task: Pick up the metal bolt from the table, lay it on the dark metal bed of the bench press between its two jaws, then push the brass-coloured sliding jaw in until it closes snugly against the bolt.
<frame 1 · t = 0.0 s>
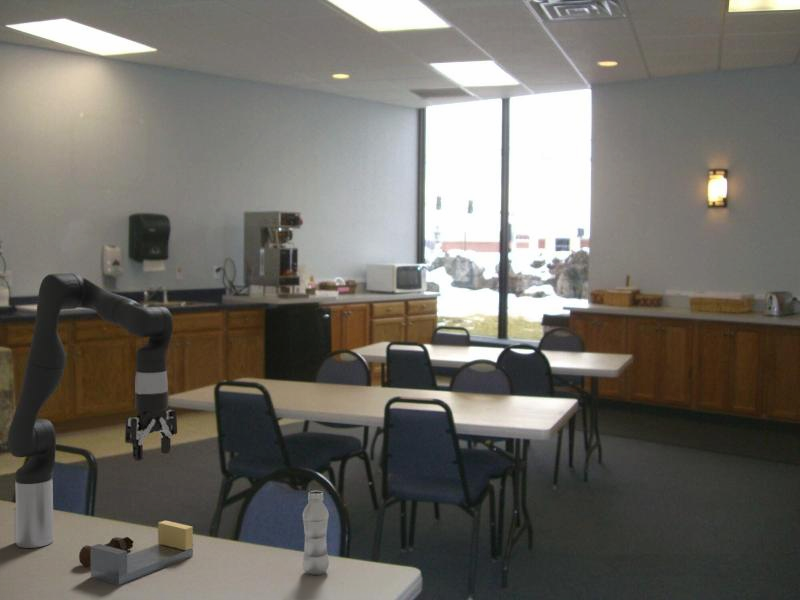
hand: (152, 456, 211), 29 cm above the table, tool pointing down, fingers open, 8 cm apart
bolt: (109, 559, 225), on the table
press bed: (143, 566, 219), on the table
plastic bottle: (315, 573, 215), on the table
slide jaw: (175, 535, 228), point 5 cm above the table, slide at 0.0 cm
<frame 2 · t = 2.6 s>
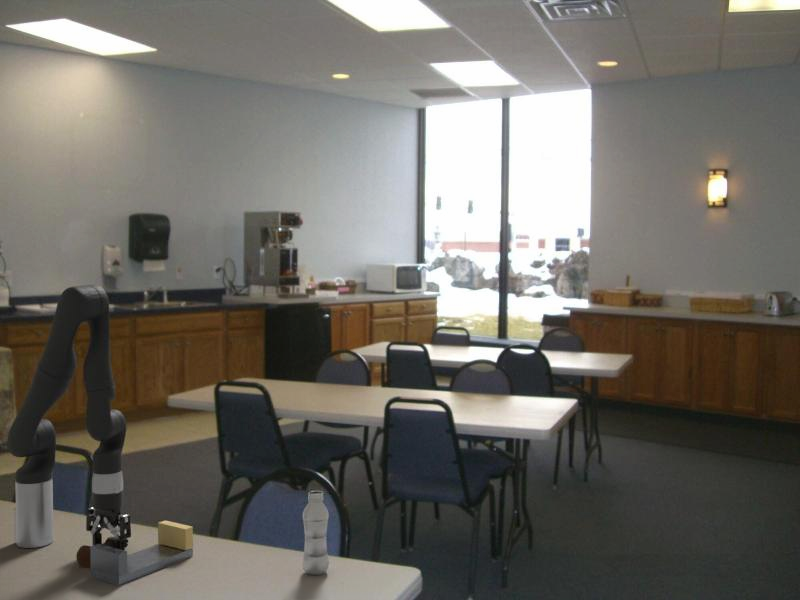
hand: (108, 551, 224), 2 cm above the table, tool pointing down, fingers open, 8 cm apart
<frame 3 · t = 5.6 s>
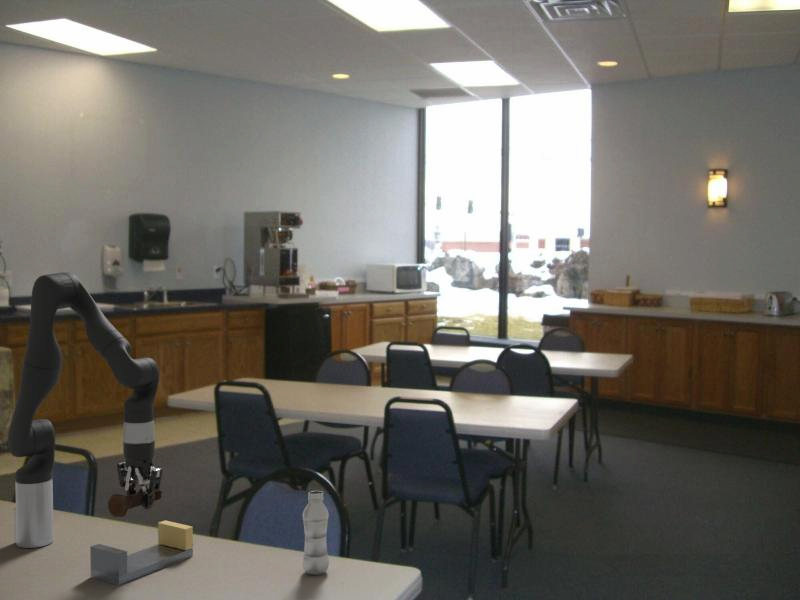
hand: (139, 506, 217), 15 cm above the table, tool pointing down, fingers closed on bolt, 5 cm apart
bolt: (138, 509, 217), point 15 cm above the table, touching gripper
everything else where it was.
when the fingers open (3 cm above the table, at t = 8.3 s): bolt stays where it is, resting on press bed.
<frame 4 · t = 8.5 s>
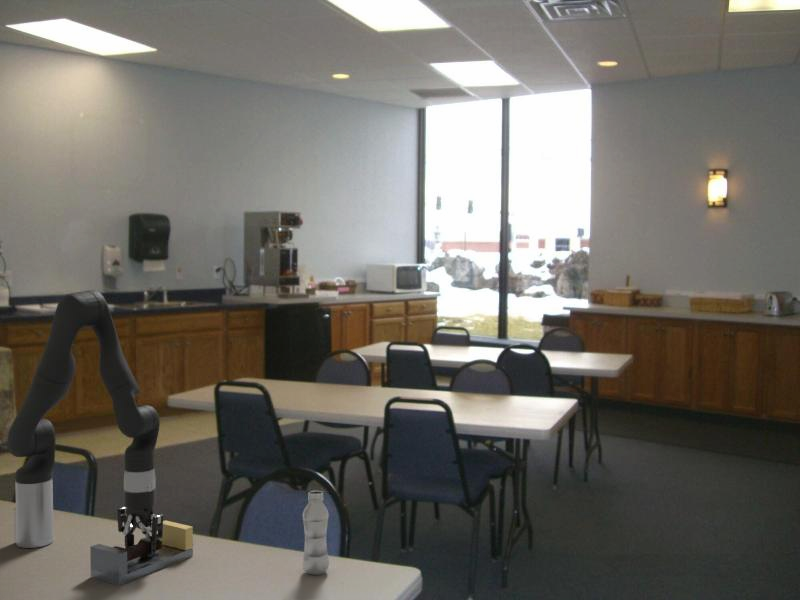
hand: (140, 552, 218), 4 cm above the table, tool pointing down, fingers open, 7 cm apart
bolt: (137, 560, 217), point 2 cm above the table, touching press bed
everything else where it was.
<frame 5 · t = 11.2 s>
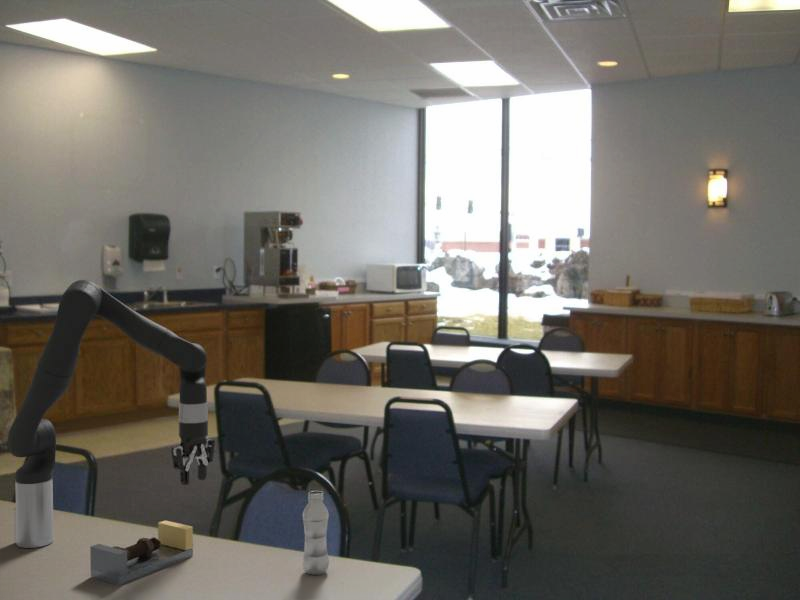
hand: (193, 481, 233), 18 cm above the table, tool pointing down, fingers open, 5 cm apart
nothing on the table moved.
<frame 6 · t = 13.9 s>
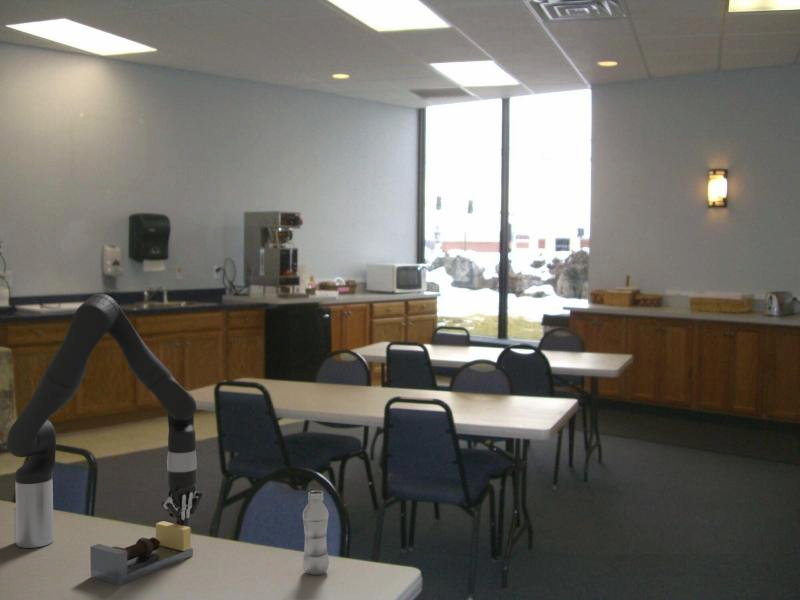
hand: (182, 532, 230), 5 cm above the table, tool pointing down, fingers closed
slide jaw: (173, 535, 227), point 5 cm above the table, slide at 0.8 cm, touching gripper
everything else where it was.
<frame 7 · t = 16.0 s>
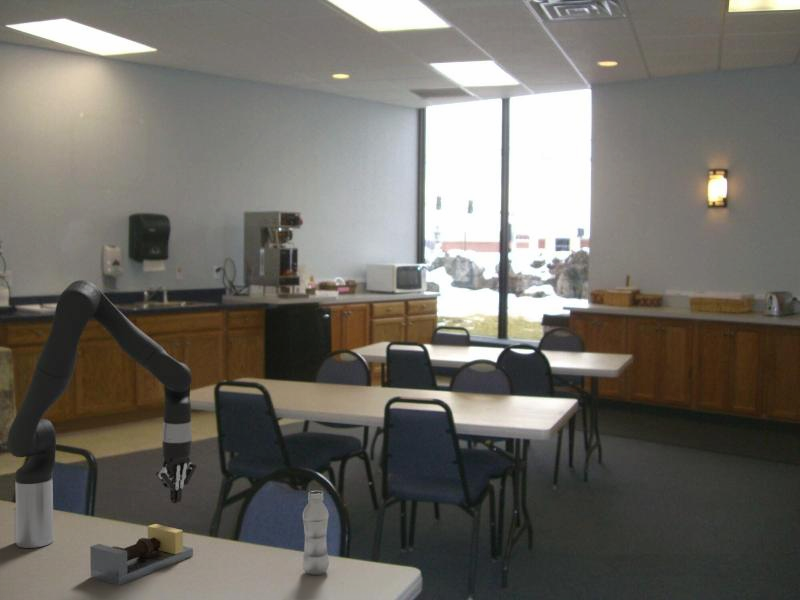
hand: (176, 502, 233), 12 cm above the table, tool pointing down, fingers closed
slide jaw: (165, 538, 225), point 5 cm above the table, slide at 3.5 cm
everything else where it was.
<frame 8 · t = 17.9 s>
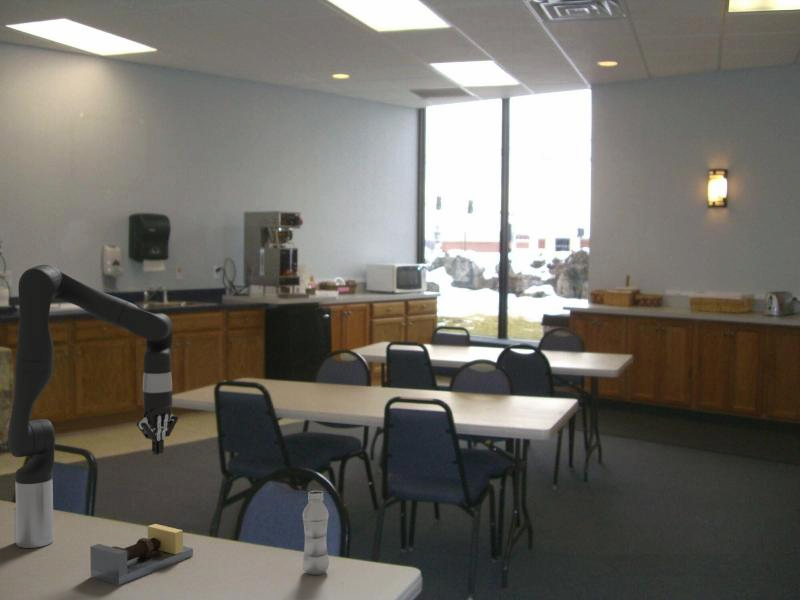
hand: (158, 453, 232), 25 cm above the table, tool pointing down, fingers closed
nothing on the table moved.
at the end: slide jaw slide at 3.5 cm; bolt inside the target area (0.5 cm from its centre), point 1.8 cm above the table; the gripper is holding nothing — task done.
